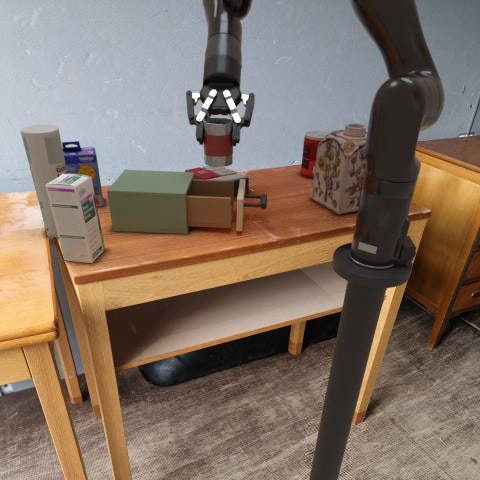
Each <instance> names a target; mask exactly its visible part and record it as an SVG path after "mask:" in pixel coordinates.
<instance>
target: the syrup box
mask: <svg viewBox="0 0 480 480" xmlns="http://www.w3.org/2000/svg"><path fill="white" fill-rule="evenodd" d="M45 186H46V190H47V194H48V198H49V202H50V206H51V210H52V214H53V218H54V222H55V226H56V229H57V233H58V237H59V238H58V241H59V245H60V249H61V253H62V257H63V261H64V260H65V261H68V262H75V263H85V264H93V263H94V262H95V260H96V259H98V258H99V256H100V255H101V254H103V253H104V251H105V250H106V245H105V241H104V235H103V231H102V224H101V219H100V215H99V207H97V203H96V198H95V193H94V188H93V183H92V178H91V176H88V175H82V174H62V175H61V176H59V177H58V178H56V179H54V180H53V181H51V182H50V183H47V184H46V185H45Z"/></svg>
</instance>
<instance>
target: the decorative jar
mask: <svg viewBox="0 0 480 480" xmlns="http://www.w3.org/2000/svg"><path fill="white" fill-rule="evenodd" d="M367 129H368V126H367V125H366V124H363V123H358V122H349V123H346V124H345V126H344V129H341V130H333V131H331V132H329V133H330V134H329V135H327V136H325V137H324V139H323V140H322V141H321V142H320V143H319V144H318V149H317V156H316V164H315V172H314V179H312V180H313V181H312V189H311V190H312V191H311V199H312V200H313V201H315V202H316V203H318V204H320V205H322V206H323V207H325V208H326V209H328V210H330V211H332V212H334V213H335V214H337V215H339V216H340V215H343V214H348V213H349V214H350V213H354V212H358V208H359V203H360V198H361V193H362V187H363V182H364V177H365V171H366V165H367V163H366V158H365V145H366V138H367Z"/></svg>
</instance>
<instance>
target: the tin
mask: <svg viewBox="0 0 480 480" xmlns="http://www.w3.org/2000/svg"><path fill="white" fill-rule="evenodd" d="M203 129H204V131H203V140H204V142H203V163H204V165H205V166H213V167H225V168H226V167H228V166H232V164H234V163H233V160H234V155H233V154H234V146H233V145H232V136H233V120H231V119H230V118H227V117H210V118H208V119H205V120H204V121H203Z"/></svg>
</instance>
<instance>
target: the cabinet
mask: <svg viewBox="0 0 480 480" xmlns="http://www.w3.org/2000/svg"><path fill="white" fill-rule="evenodd" d="M193 179H195V178H194V172H185V171H169V170H167V171H166V170H142V169H141V170H140V169H124V170H123V171H121V174H120V175H119V176H118V177H117V178H116V179H115V181H114V182H113V183H112V184H111V185H110V187H108V189H107V190H106V193H107V200H108V207H109V213H110V219H111V225H112V231H113V232H129V233H131V232H132V233H154V234H173V235H174V234H176V235H177V234H178V235H188V232H189V229H190V227H191V226H187V208H186V195H187V192H188V190H189V188H190V185H191V183H192V180H193Z"/></svg>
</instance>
